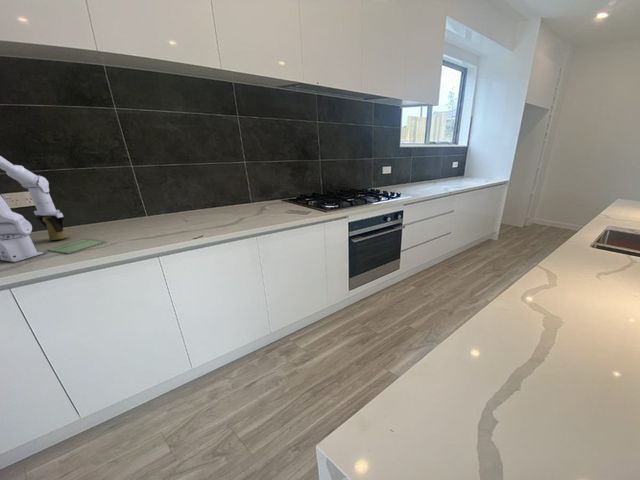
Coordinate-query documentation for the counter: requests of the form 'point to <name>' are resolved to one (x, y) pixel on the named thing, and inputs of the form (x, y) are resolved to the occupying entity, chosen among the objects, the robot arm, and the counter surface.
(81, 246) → the napkin
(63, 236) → the cork
